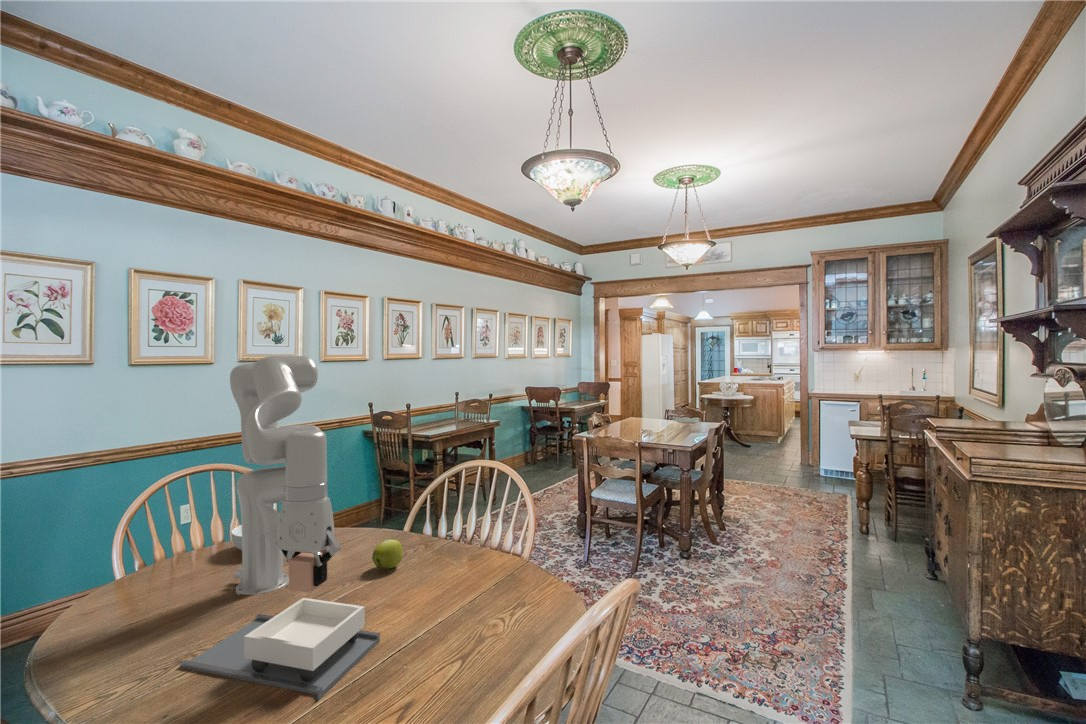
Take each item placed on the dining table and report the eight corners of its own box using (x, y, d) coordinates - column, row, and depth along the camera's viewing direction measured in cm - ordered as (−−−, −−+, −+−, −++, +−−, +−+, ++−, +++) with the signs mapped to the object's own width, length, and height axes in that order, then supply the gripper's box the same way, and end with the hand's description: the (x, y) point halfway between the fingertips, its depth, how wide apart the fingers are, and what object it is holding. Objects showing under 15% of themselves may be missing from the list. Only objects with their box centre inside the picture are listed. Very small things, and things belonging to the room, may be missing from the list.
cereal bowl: (249, 563, 148) (248, 539, 148) (221, 552, 157) (220, 529, 157) (302, 544, 163) (302, 523, 163) (274, 535, 172) (273, 515, 171)
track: (180, 672, 97) (180, 662, 97) (259, 621, 116) (258, 613, 116) (318, 700, 89) (318, 690, 89) (379, 641, 107) (379, 633, 107)
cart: (244, 672, 95) (244, 636, 95) (303, 628, 110) (303, 597, 110) (313, 686, 91) (312, 648, 91) (364, 638, 106) (364, 606, 106)
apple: (410, 565, 146) (409, 538, 146) (385, 576, 139) (385, 548, 138) (392, 559, 150) (391, 533, 150) (367, 570, 143) (366, 542, 143)
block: (289, 590, 99) (288, 559, 99) (306, 579, 103) (306, 550, 103) (310, 592, 97) (309, 562, 97) (327, 581, 102) (327, 552, 102)
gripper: (257, 494, 99) (259, 585, 99) (330, 500, 94) (332, 595, 94) (286, 485, 106) (287, 569, 106) (355, 489, 102) (356, 578, 102)
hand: (308, 580), depth 100 cm, fingers closed on block, 5 cm apart
